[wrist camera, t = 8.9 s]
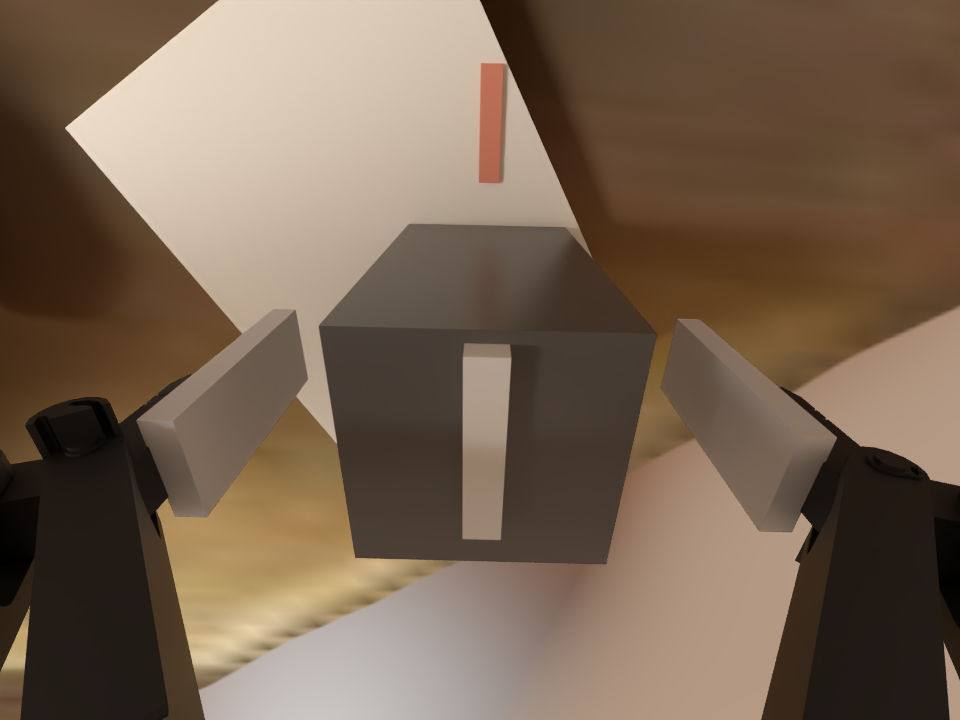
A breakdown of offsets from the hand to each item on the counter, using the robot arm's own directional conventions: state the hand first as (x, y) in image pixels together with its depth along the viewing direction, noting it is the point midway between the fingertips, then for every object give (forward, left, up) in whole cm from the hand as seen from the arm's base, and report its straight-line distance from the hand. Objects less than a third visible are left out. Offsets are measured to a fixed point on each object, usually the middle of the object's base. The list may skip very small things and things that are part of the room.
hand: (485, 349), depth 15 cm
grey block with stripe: (0, 0, -5) cm, 5 cm away
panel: (-3, +4, -7) cm, 9 cm away
